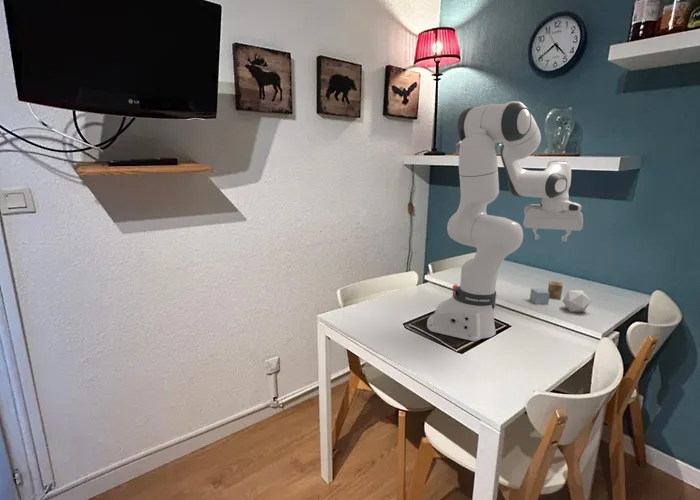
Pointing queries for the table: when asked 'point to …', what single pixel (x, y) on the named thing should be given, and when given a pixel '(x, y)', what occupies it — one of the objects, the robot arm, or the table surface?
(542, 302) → the slate block
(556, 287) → the walnut block
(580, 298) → the die
